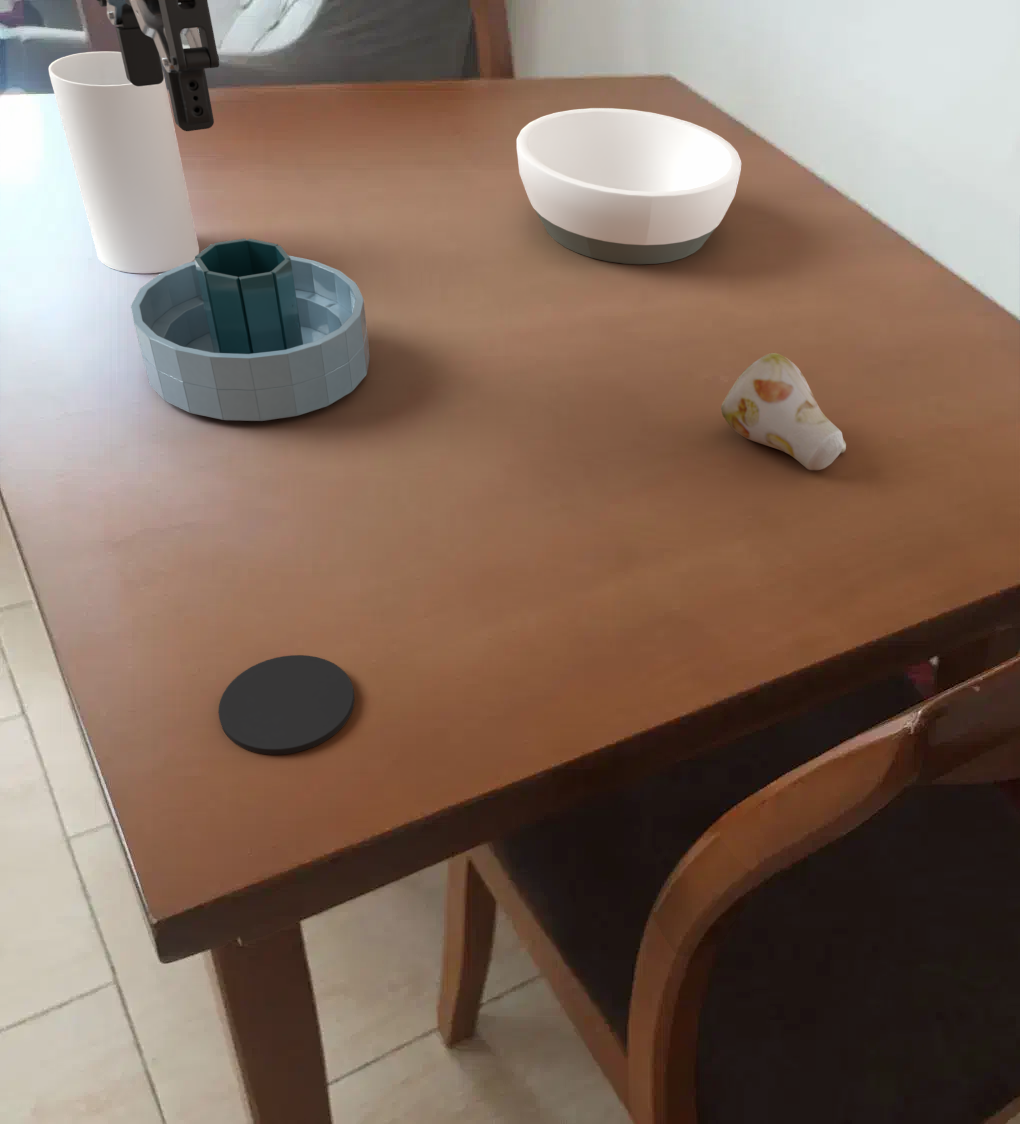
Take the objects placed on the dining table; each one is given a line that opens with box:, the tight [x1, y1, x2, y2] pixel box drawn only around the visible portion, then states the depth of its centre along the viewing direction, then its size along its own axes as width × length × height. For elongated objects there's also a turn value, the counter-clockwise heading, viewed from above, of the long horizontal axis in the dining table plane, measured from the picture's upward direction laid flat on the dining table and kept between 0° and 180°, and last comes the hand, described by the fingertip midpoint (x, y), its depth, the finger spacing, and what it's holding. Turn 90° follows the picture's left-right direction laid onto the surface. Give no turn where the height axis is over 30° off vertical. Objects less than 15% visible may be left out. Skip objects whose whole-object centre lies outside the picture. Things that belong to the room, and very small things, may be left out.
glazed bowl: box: [130, 254, 371, 422], centre depth 87 cm, size 16×16×6 cm
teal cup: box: [194, 238, 303, 354], centre depth 86 cm, size 6×6×9 cm
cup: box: [48, 51, 200, 274], centre depth 96 cm, size 8×8×16 cm
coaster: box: [218, 654, 355, 756], centre depth 64 cm, size 7×7×1 cm
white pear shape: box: [720, 352, 847, 471], centre depth 89 cm, size 8×10×10 cm
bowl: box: [515, 107, 742, 265], centre depth 115 cm, size 22×22×8 cm
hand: (170, 105), depth 75 cm, fingers open, 8 cm apart
